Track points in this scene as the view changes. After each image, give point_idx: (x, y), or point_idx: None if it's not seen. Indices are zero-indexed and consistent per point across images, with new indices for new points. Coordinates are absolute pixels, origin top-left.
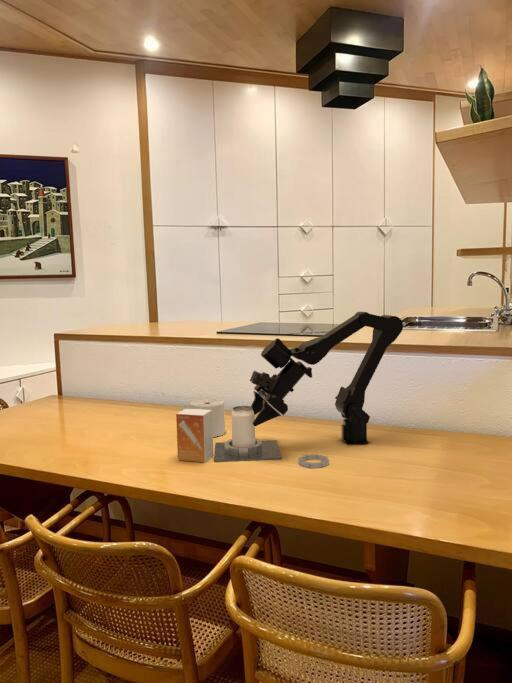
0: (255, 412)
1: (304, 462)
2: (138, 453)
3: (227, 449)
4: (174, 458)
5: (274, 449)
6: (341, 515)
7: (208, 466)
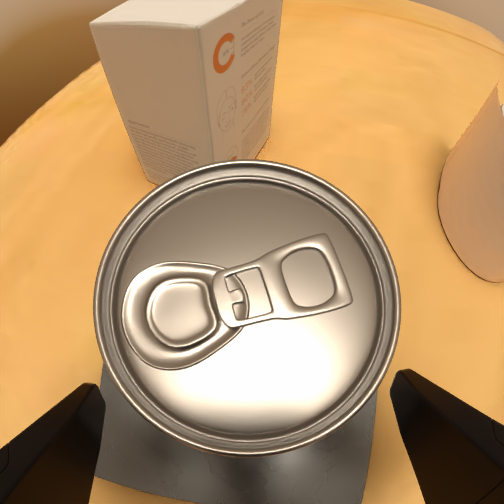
0: (417, 455)
1: None
2: (295, 56)
3: None
4: None
5: (213, 488)
6: None
7: (108, 191)
